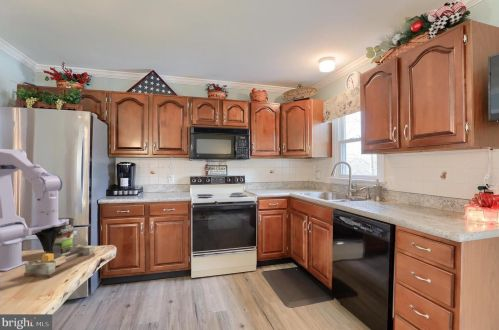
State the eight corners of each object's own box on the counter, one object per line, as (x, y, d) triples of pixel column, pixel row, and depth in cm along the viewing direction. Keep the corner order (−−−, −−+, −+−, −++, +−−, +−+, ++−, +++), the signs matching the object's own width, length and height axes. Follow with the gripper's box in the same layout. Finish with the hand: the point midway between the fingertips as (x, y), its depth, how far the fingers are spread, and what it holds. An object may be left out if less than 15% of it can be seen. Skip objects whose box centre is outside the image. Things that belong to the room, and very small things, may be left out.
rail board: (24, 276, 83) (24, 262, 83) (73, 254, 103) (73, 243, 103) (49, 278, 82) (49, 264, 82) (95, 255, 102) (95, 244, 102)
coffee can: (79, 249, 109) (79, 218, 109) (57, 258, 99) (57, 223, 99) (60, 247, 111) (60, 217, 111) (36, 256, 101) (36, 222, 101)
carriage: (40, 265, 87) (40, 248, 87) (51, 260, 91) (51, 244, 91) (55, 266, 86) (55, 249, 86) (65, 261, 90) (65, 245, 90)
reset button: (42, 261, 82) (42, 255, 82) (47, 258, 84) (47, 253, 84) (48, 261, 82) (48, 255, 82) (53, 259, 84) (53, 253, 84)
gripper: (36, 215, 75) (37, 259, 76) (76, 207, 90) (76, 243, 90) (17, 215, 76) (17, 258, 77) (59, 206, 91) (59, 243, 91)
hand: (47, 250), depth 83 cm, fingers closed
